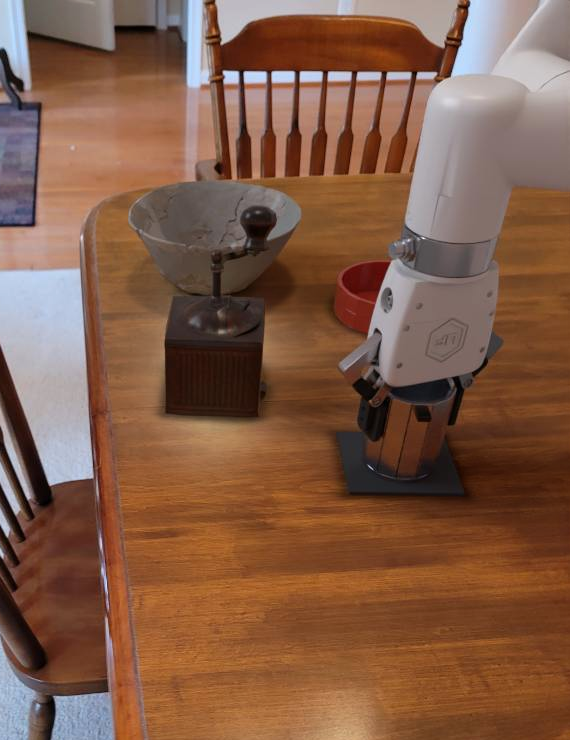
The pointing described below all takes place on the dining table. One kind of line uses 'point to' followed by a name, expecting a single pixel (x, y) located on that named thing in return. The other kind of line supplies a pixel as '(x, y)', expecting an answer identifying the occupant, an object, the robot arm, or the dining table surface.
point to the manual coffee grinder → (219, 339)
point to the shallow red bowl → (359, 293)
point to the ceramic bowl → (209, 231)
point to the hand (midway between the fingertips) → (406, 424)
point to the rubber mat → (367, 483)
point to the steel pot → (410, 431)
